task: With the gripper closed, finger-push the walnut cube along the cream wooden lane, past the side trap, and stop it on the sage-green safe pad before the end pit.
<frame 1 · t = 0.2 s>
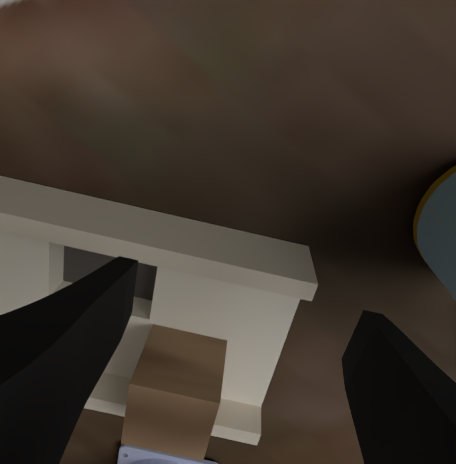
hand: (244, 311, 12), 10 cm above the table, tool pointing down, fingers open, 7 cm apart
block: (184, 360, 23), point 2 cm above the table, touching trap lane
trap lane: (64, 278, 24), on the table
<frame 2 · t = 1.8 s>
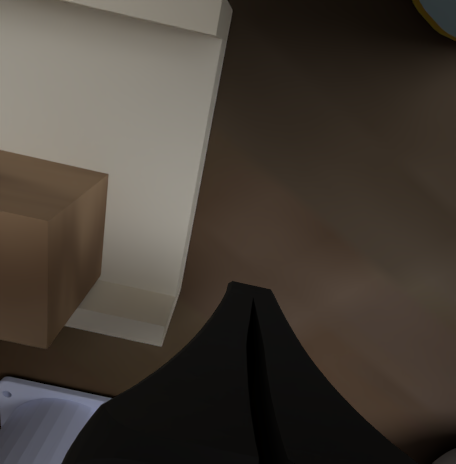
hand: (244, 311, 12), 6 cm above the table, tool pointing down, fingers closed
block: (48, 215, 15), point 2 cm above the table, touching trap lane
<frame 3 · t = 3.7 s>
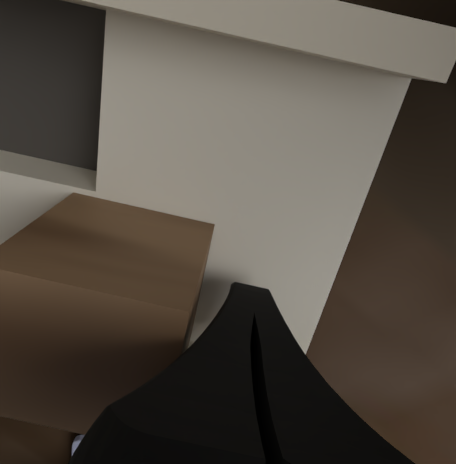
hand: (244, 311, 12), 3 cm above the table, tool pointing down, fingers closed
block: (136, 269, 13), point 2 cm above the table, touching gripper
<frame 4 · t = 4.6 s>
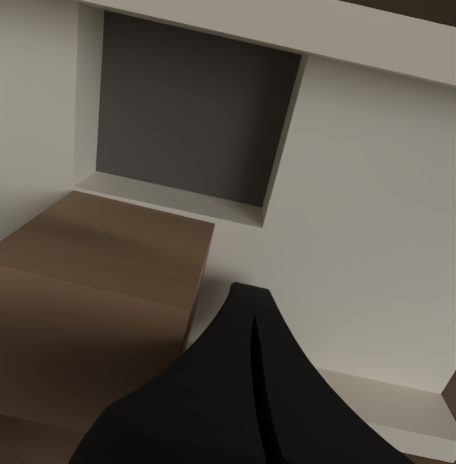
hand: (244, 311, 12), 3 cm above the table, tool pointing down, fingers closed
block: (136, 267, 13), point 2 cm above the table, touching gripper, trap lane
trap lane: (97, 169, 14), on the table
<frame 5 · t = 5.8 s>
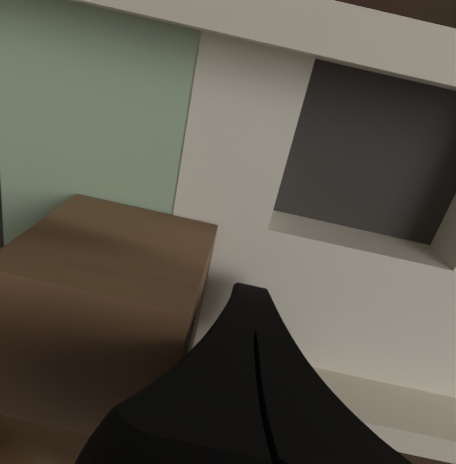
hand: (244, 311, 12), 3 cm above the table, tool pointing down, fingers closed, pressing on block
block: (140, 270, 13), point 2 cm above the table, touching gripper, trap lane
trap lane: (266, 206, 14), on the table
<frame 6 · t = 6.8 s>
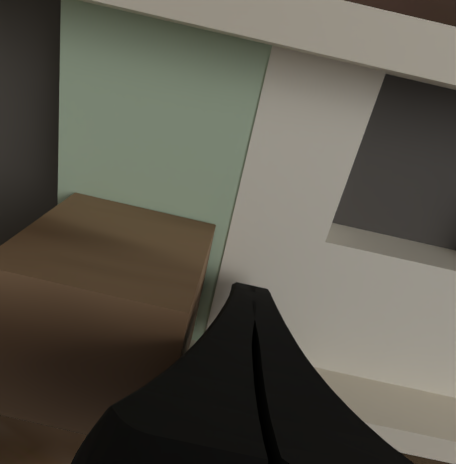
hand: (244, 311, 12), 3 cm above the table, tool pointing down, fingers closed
block: (138, 269, 13), point 2 cm above the table, touching gripper, trap lane
trap lane: (316, 217, 14), on the table
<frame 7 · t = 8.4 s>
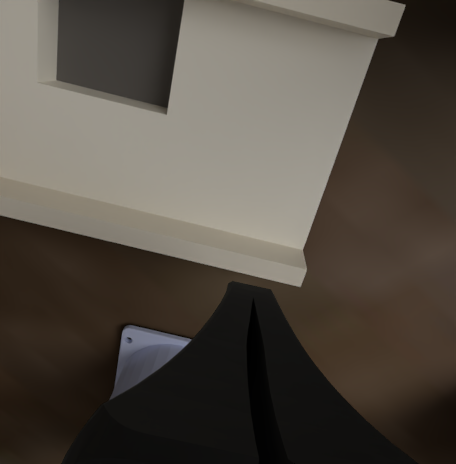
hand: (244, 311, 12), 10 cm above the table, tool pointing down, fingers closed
trap lane: (58, 80, 19), on the table
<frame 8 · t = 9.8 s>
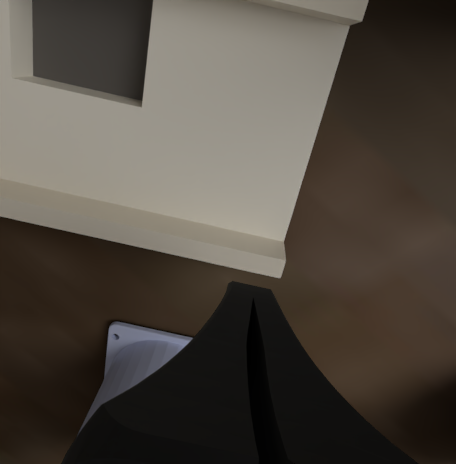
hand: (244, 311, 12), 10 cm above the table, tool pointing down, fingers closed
trap lane: (35, 75, 19), on the table
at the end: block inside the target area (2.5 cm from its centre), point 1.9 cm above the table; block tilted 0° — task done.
